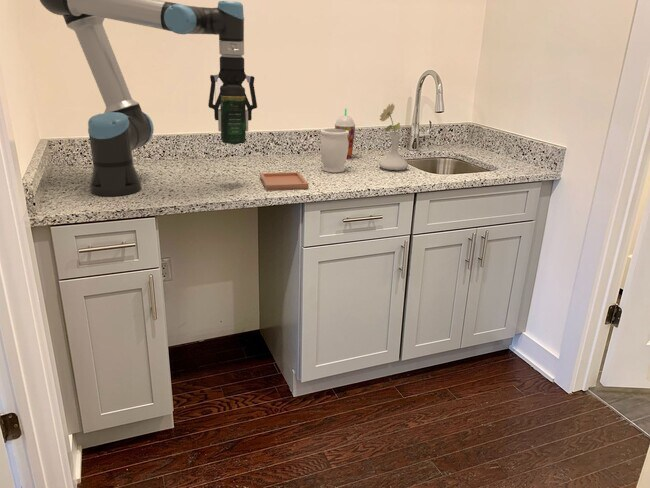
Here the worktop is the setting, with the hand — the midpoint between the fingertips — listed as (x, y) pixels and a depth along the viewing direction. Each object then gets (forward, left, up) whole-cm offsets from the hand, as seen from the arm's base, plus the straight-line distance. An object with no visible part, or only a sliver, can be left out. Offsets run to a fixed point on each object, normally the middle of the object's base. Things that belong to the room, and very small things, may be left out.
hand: (233, 130), depth 173 cm
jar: (+38, +16, -19) cm, 46 cm away
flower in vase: (+61, +15, -19) cm, 66 cm away
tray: (+16, 0, -18) cm, 25 cm away
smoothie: (+48, +37, -19) cm, 64 cm away
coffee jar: (0, 0, -4) cm, 4 cm away
